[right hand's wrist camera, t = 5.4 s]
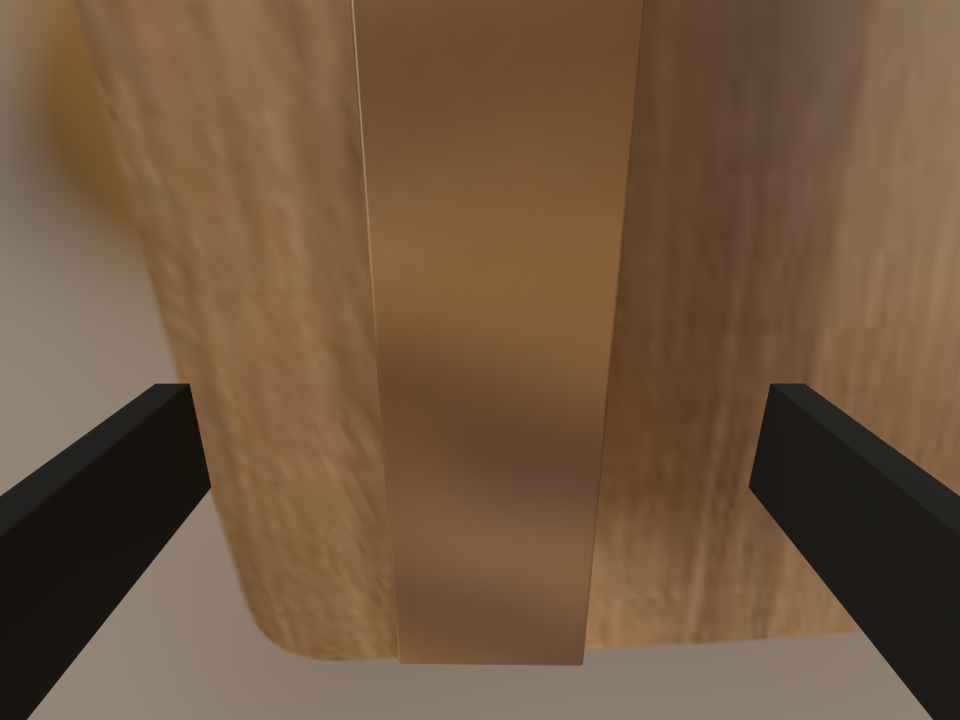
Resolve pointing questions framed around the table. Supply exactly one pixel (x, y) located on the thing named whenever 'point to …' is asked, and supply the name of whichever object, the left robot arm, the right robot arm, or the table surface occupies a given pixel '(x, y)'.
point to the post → (494, 306)
